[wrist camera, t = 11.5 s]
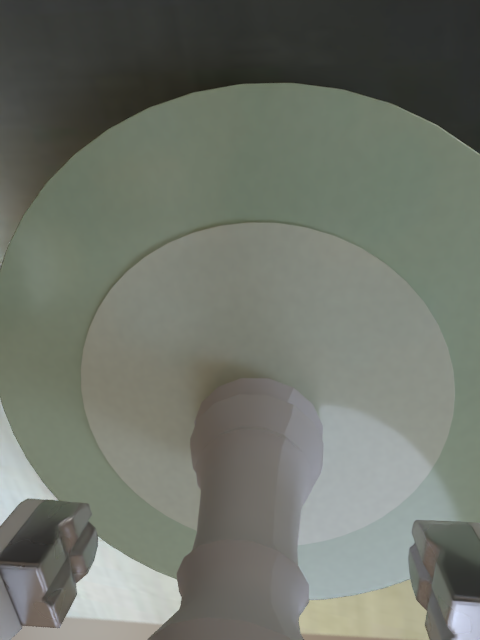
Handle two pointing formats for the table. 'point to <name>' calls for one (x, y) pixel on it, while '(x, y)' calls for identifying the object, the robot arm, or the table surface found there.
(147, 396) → the plate
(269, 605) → the rook chess piece
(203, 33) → the table surface
